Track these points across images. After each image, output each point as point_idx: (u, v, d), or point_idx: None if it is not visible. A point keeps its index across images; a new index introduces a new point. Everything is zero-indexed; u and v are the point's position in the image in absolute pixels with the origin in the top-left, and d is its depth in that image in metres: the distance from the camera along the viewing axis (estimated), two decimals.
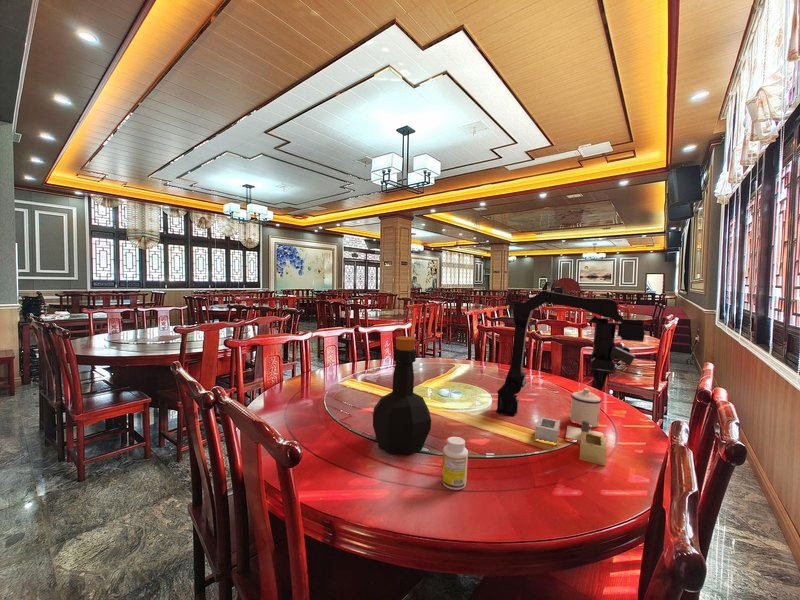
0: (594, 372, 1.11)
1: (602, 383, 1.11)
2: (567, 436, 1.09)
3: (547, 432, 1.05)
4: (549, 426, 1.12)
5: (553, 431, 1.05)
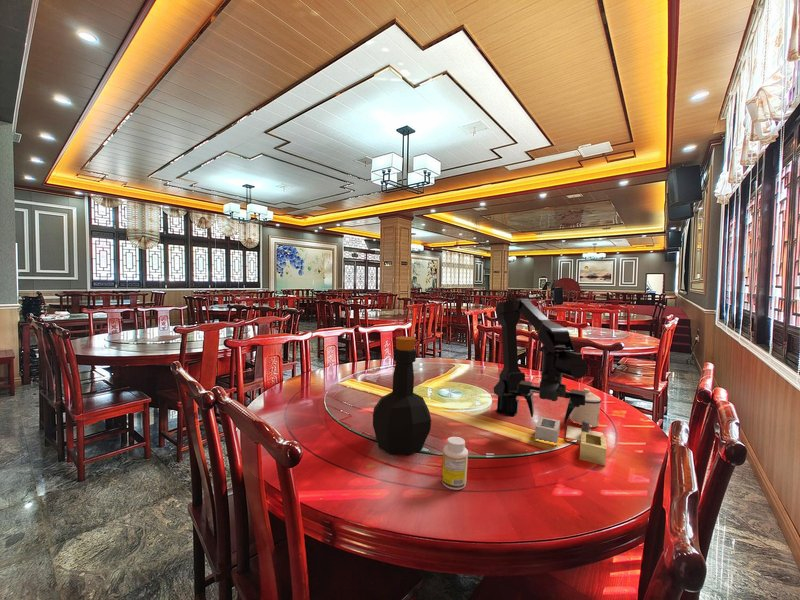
0: None
1: None
2: (567, 436, 1.09)
3: (547, 432, 1.05)
4: (549, 426, 1.12)
5: (553, 431, 1.05)
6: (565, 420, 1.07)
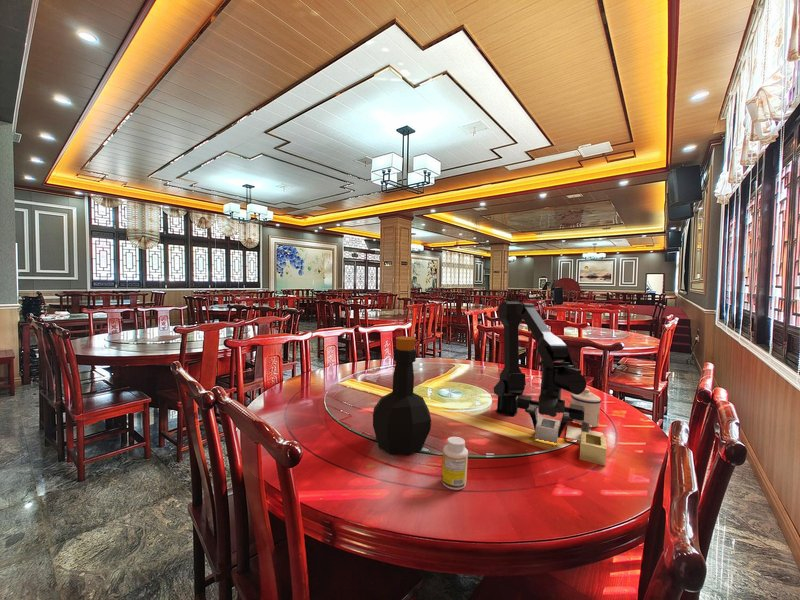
0: None
1: None
2: (567, 436, 1.09)
3: (547, 432, 1.05)
4: (549, 426, 1.12)
5: (553, 431, 1.05)
6: (559, 434, 1.07)
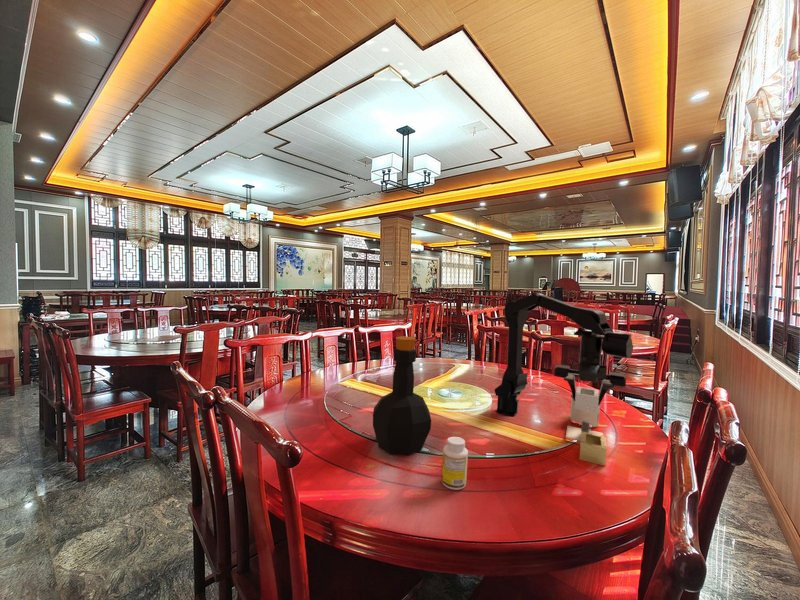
0: None
1: (572, 393, 1.11)
2: (567, 436, 1.09)
3: (587, 399, 1.05)
4: None
5: (594, 398, 1.04)
6: (599, 401, 1.07)
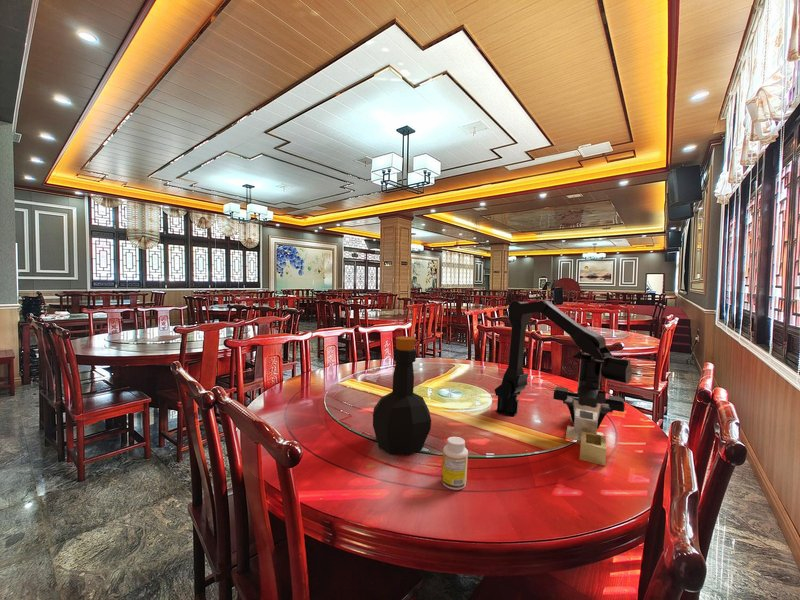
0: None
1: (571, 415, 1.11)
2: (567, 436, 1.09)
3: (586, 423, 1.06)
4: (586, 418, 1.13)
5: (593, 422, 1.05)
6: (597, 425, 1.08)
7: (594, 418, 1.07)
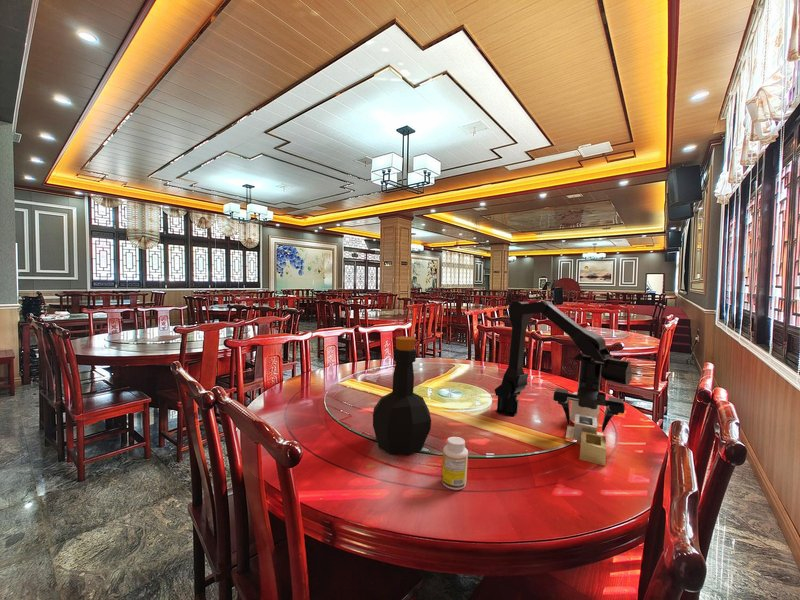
0: None
1: (566, 416, 1.12)
2: (567, 436, 1.09)
3: (586, 429, 1.06)
4: None
5: (592, 428, 1.05)
6: (603, 428, 1.07)
7: (594, 424, 1.07)
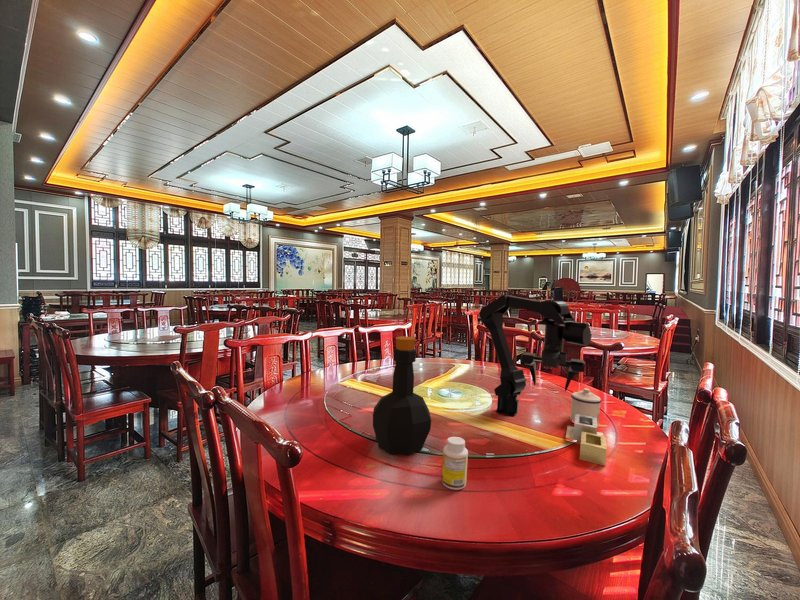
0: None
1: None
2: (567, 436, 1.09)
3: (586, 429, 1.06)
4: None
5: (592, 428, 1.05)
6: (566, 387, 1.14)
7: (594, 424, 1.07)
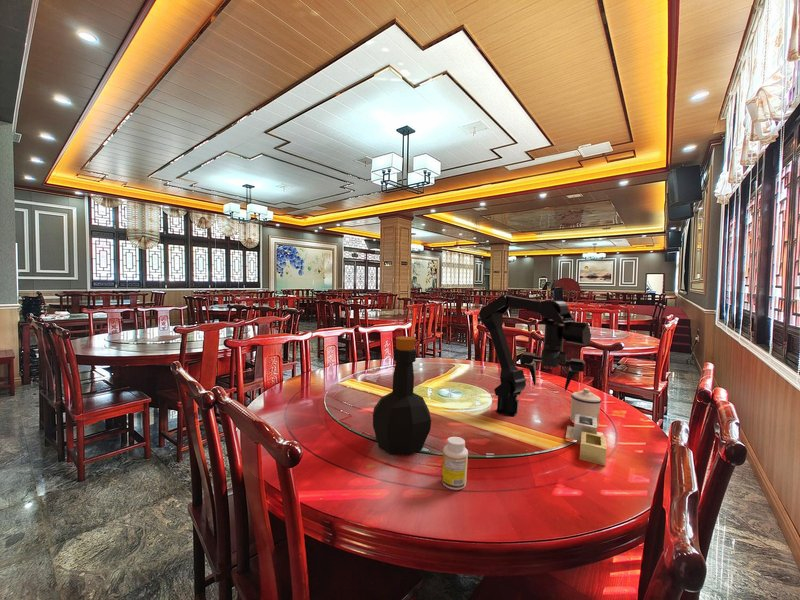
0: None
1: None
2: (567, 436, 1.09)
3: (586, 429, 1.06)
4: None
5: (592, 428, 1.05)
6: (565, 387, 1.14)
7: (594, 424, 1.07)
